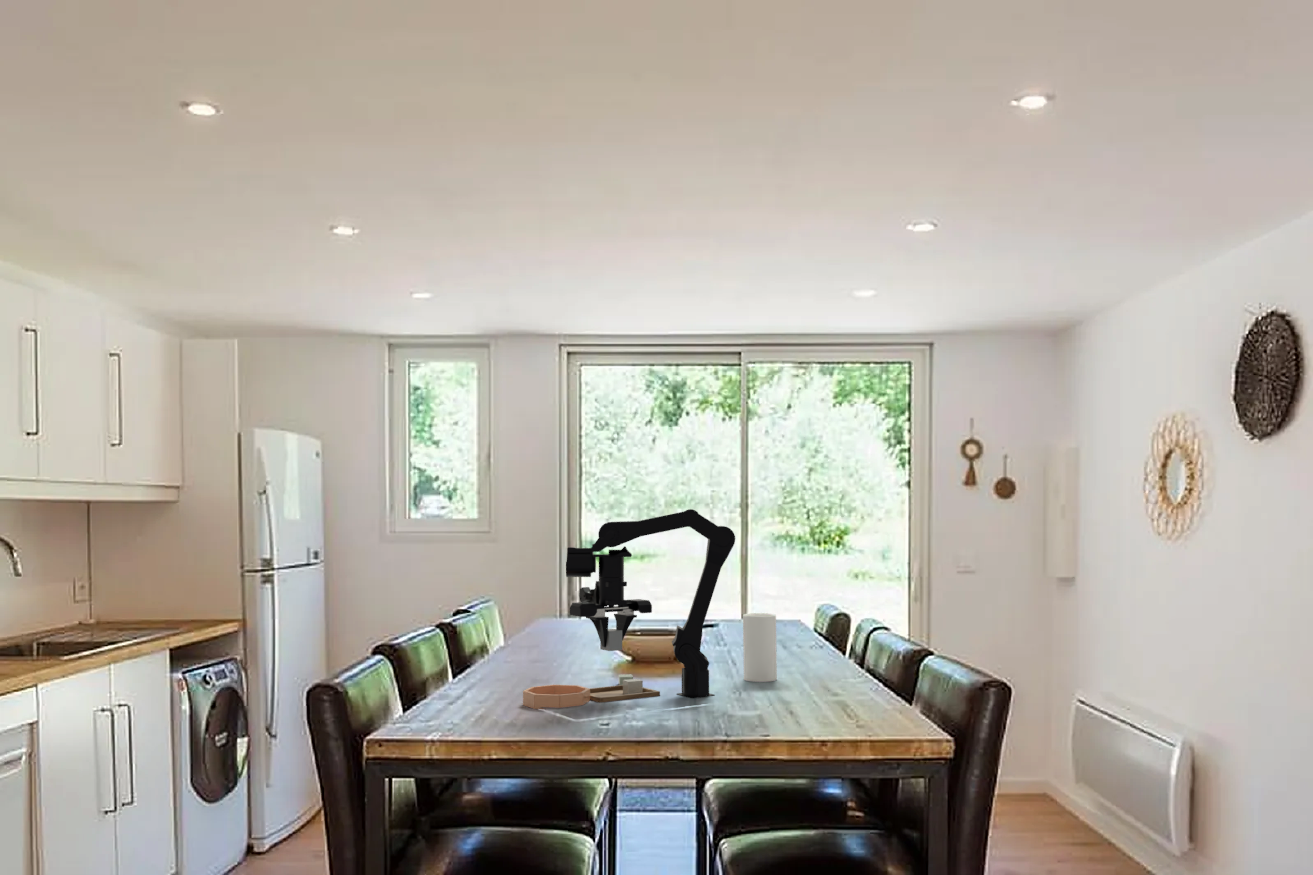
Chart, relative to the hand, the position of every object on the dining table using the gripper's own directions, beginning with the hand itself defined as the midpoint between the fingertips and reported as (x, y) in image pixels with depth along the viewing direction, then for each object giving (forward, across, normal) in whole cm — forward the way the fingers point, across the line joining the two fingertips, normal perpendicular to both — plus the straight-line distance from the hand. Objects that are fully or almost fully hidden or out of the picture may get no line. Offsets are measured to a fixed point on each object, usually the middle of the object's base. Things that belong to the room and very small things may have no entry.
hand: (611, 646), depth 242 cm
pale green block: (+9, -10, -11) cm, 18 cm away
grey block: (+1, 0, 0) cm, 1 cm away
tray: (+11, -1, 0) cm, 11 cm away
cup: (+12, -44, -2) cm, 46 cm away
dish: (+11, +14, 0) cm, 18 cm away
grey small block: (+11, -5, +1) cm, 12 cm away
